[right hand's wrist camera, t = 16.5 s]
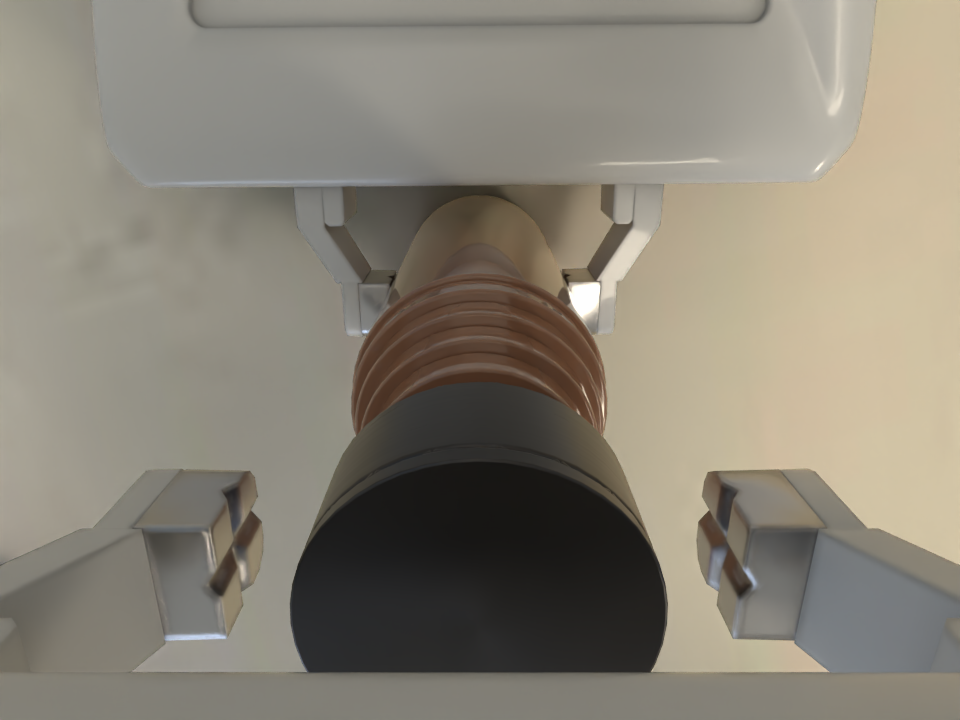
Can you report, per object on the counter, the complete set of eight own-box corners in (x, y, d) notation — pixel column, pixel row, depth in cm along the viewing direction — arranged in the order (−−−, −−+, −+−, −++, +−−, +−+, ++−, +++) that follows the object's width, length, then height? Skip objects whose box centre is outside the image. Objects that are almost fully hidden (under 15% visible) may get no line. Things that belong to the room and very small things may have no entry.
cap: (575, 660, 11) (597, 789, 9) (305, 603, 11) (263, 725, 9) (672, 422, 10) (727, 511, 8) (361, 344, 9) (326, 415, 7)
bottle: (403, 323, 27) (259, 732, 9) (417, 185, 25) (270, 375, 7) (536, 340, 27) (640, 770, 10) (561, 205, 25) (745, 434, 8)
